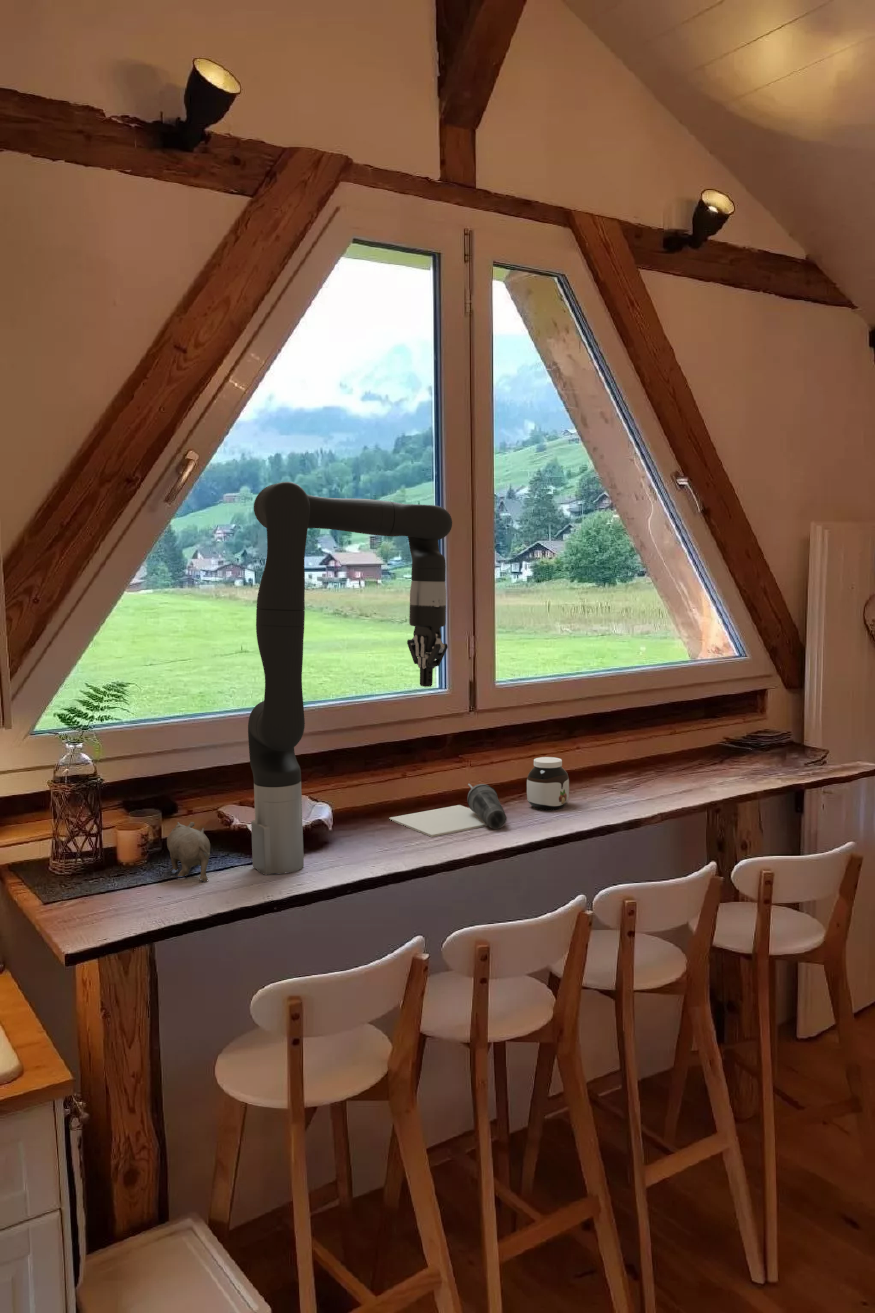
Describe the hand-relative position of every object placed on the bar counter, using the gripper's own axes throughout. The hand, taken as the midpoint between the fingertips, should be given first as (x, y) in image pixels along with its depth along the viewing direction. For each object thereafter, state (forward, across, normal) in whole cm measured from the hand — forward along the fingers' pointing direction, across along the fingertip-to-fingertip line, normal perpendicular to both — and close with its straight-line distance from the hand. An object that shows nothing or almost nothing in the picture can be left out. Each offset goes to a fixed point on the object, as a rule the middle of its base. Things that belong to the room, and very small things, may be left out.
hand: (426, 686), depth 210 cm
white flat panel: (+34, -14, +14) cm, 39 cm away
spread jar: (+33, -12, +42) cm, 55 cm away
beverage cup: (+31, -1, +20) cm, 37 cm away
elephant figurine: (+36, -11, -47) cm, 60 cm away
